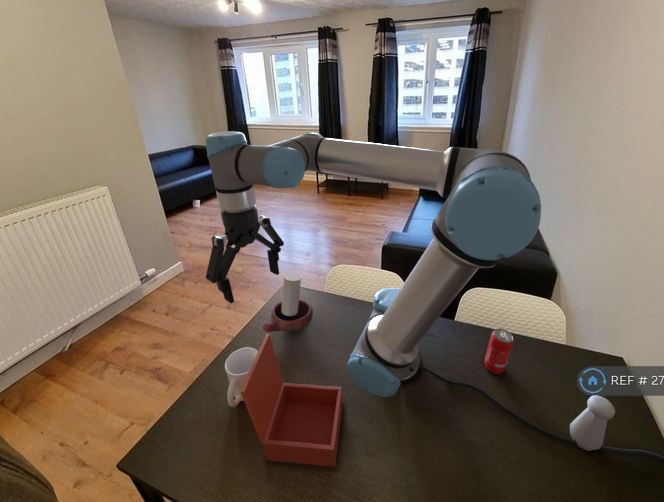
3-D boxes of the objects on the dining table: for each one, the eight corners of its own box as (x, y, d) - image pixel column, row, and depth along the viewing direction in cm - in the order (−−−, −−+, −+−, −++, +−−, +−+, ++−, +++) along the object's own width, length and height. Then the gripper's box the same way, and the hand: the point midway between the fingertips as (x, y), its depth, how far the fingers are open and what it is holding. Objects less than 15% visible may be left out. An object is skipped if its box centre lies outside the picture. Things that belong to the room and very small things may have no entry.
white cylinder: (299, 308, 97) (302, 274, 94) (295, 317, 92) (298, 282, 89) (283, 305, 98) (286, 271, 94) (278, 314, 93) (281, 279, 89)
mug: (248, 421, 72) (241, 392, 67) (217, 414, 73) (208, 386, 69) (270, 376, 82) (265, 349, 78) (243, 371, 84) (236, 345, 79)
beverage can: (483, 371, 83) (492, 339, 77) (484, 356, 87) (492, 325, 82) (504, 377, 81) (514, 345, 76) (503, 362, 85) (513, 330, 80)
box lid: (269, 334, 66) (266, 334, 66) (244, 391, 54) (240, 391, 54) (283, 381, 73) (280, 381, 73) (263, 442, 61) (260, 442, 61)
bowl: (281, 309, 106) (279, 291, 103) (317, 313, 104) (315, 294, 101) (263, 345, 92) (259, 326, 88) (304, 350, 90) (302, 330, 87)
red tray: (342, 405, 75) (341, 387, 72) (335, 468, 63) (334, 450, 60) (285, 400, 76) (282, 382, 73) (267, 462, 64) (262, 443, 61)
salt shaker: (599, 461, 63) (623, 423, 57) (567, 445, 66) (586, 408, 60) (597, 435, 68) (619, 398, 62) (566, 422, 70) (584, 385, 64)
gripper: (271, 187, 76) (281, 258, 86) (171, 222, 59) (197, 307, 68) (292, 193, 72) (300, 267, 82) (191, 232, 55) (216, 321, 64)
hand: (253, 285), depth 75 cm, fingers open, 13 cm apart
